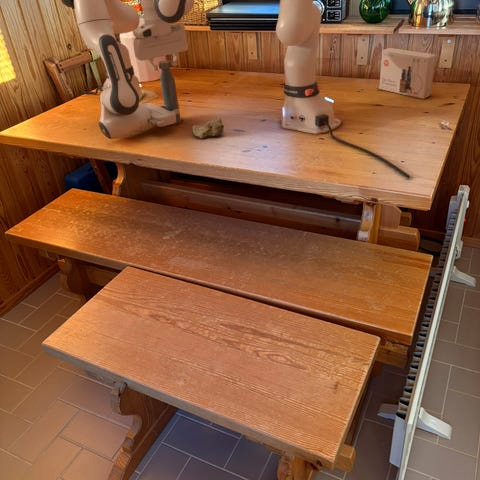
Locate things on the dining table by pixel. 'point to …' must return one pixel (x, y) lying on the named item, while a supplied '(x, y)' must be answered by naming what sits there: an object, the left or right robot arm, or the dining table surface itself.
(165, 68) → the cap
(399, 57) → the skincare box
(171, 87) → the bottle
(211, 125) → the rock
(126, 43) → the container
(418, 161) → the dining table surface
